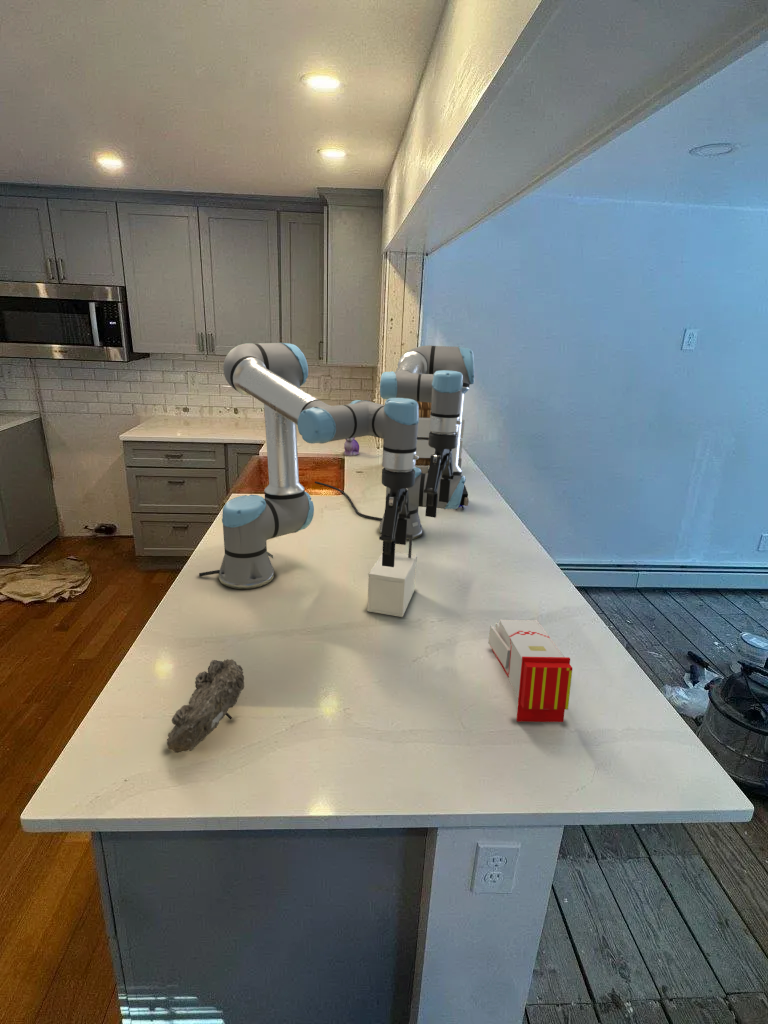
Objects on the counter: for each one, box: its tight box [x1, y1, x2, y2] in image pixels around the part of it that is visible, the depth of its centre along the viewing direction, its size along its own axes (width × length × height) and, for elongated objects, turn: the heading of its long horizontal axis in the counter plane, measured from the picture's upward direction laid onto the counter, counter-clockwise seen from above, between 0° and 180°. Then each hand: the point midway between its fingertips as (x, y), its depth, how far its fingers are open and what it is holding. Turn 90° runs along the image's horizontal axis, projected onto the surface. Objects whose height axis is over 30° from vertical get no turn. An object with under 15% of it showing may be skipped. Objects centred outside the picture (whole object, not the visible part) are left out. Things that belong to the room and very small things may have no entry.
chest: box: [366, 560, 417, 618], centre depth 153 cm, size 15×10×10 cm, turn 166°
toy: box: [488, 619, 573, 723], centre depth 122 cm, size 12×13×30 cm
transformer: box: [415, 401, 465, 470], centre depth 268 cm, size 34×33×41 cm
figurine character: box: [455, 484, 470, 511], centre depth 230 cm, size 7×8×15 cm
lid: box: [368, 533, 418, 583], centre depth 150 cm, size 16×10×8 cm, turn 166°
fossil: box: [166, 658, 245, 754], centre depth 106 cm, size 22×10×15 cm
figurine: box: [343, 437, 360, 456], centre depth 302 cm, size 9×10×15 cm
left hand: (394, 554), depth 135 cm, fingers open, 13 cm apart
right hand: (437, 509), depth 155 cm, fingers open, 13 cm apart
